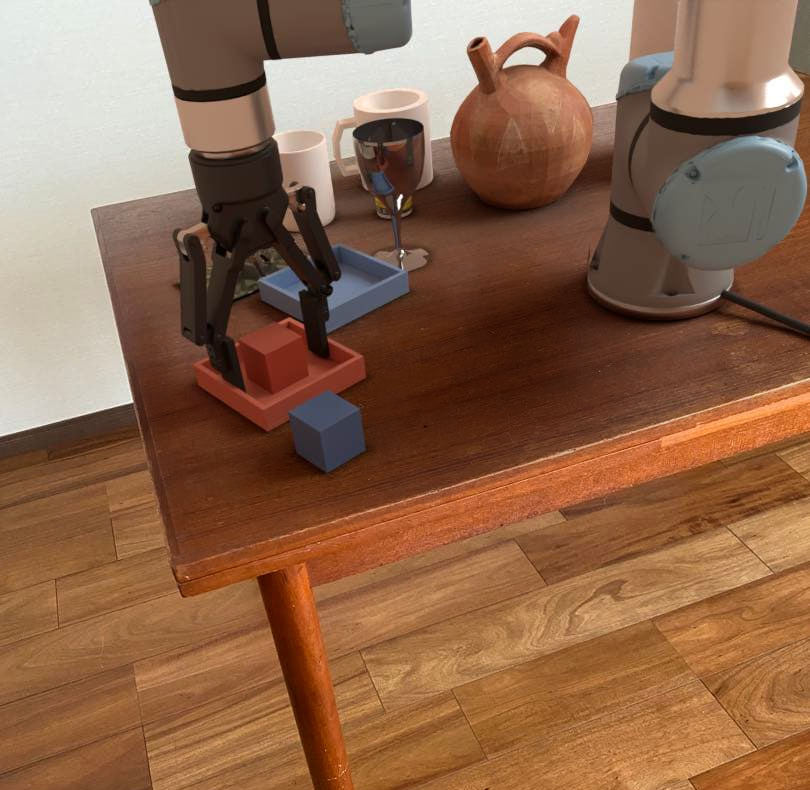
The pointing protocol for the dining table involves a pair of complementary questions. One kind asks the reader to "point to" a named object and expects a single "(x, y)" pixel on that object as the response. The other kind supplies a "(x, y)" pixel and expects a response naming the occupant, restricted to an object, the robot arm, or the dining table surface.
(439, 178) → the dining table surface
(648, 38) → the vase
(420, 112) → the mug
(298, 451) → the blue block
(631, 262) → the robot arm
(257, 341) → the red block
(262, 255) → the eiffel tower figurine
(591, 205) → the dining table surface
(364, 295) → the blue tray
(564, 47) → the jug
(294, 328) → the red tray
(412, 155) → the wine glass
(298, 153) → the cup
